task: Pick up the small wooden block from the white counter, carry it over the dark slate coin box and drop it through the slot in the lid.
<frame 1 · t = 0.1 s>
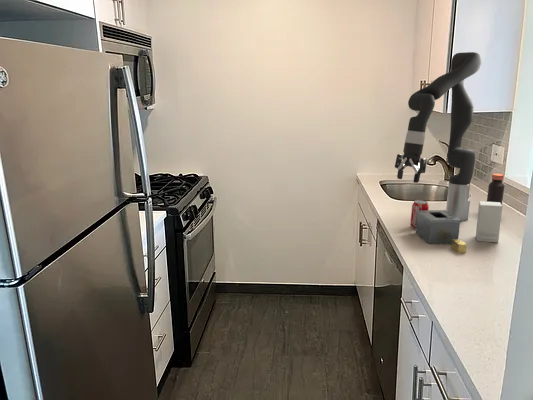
hand: (407, 180, 195), 22 cm above the worktop, tool pointing down, fingers open, 8 cm apart
skincare box: (486, 240, 191), on the worktop
wooden block: (458, 250, 179), on the worktop
bottle: (492, 215, 226), on the worktop
coin box: (435, 238, 192), on the worktop
soda can: (418, 228, 206), on the worktop
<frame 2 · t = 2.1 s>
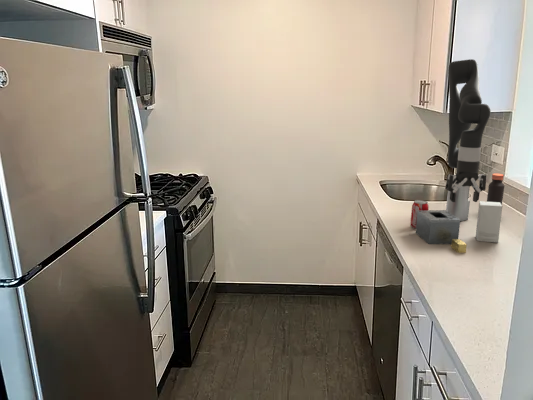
hand: (463, 201, 174), 19 cm above the worktop, tool pointing down, fingers open, 8 cm apart
nothing on the worktop moved.
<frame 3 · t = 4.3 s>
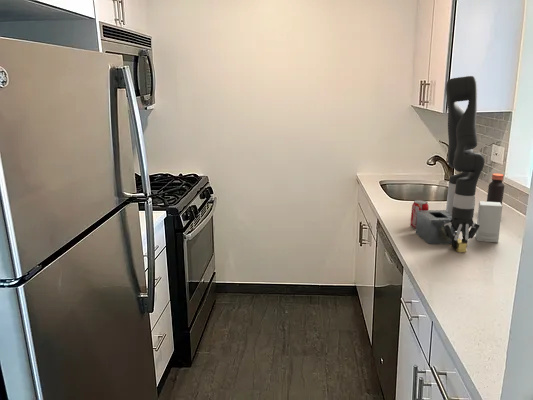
hand: (458, 248, 179), 1 cm above the worktop, tool pointing down, fingers closed on wooden block, 3 cm apart
wooden block: (458, 249, 179), on the worktop, touching gripper
everything else where it was.
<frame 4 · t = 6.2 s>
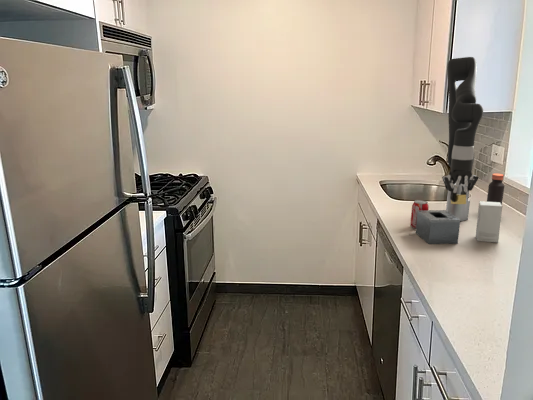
hand: (457, 201, 179), 18 cm above the worktop, tool pointing down, fingers closed on wooden block, 3 cm apart
wooden block: (458, 203, 178), point 17 cm above the worktop, tilted 13°, touching gripper
everything else where it was.
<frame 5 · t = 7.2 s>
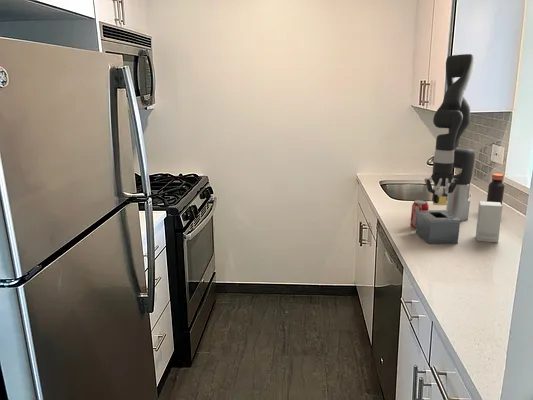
hand: (439, 202, 188), 15 cm above the worktop, tool pointing down, fingers closed on wooden block, 3 cm apart
wooden block: (439, 205, 188), point 14 cm above the worktop, tilted 14°, touching gripper
everything else where it was.
when the fingers open (12 cm above the worktop, at t = 7.8 s): wooden block drops 10 cm, resting on coin box.
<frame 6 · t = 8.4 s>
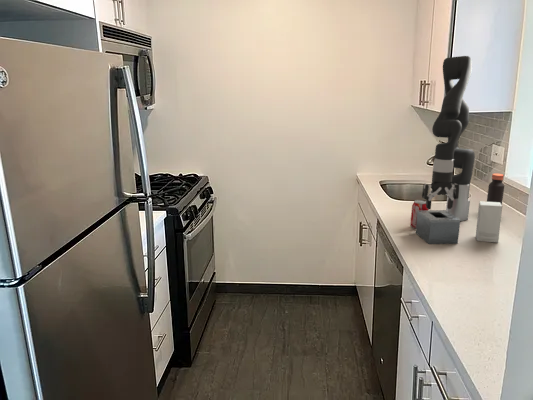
hand: (438, 208, 189), 13 cm above the worktop, tool pointing down, fingers open, 8 cm apart
wooden block: (436, 236, 191), point 1 cm above the worktop, touching coin box
everything else where it was.
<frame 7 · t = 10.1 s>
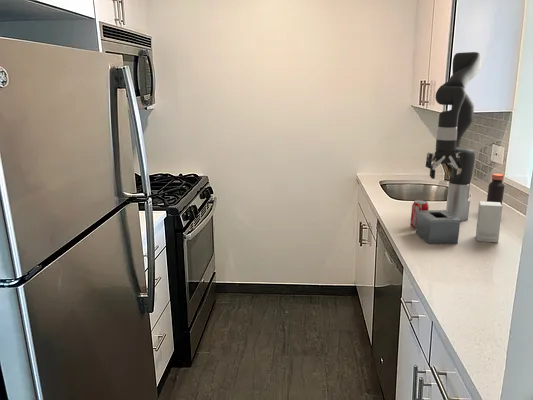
hand: (442, 178, 188), 25 cm above the worktop, tool pointing down, fingers open, 8 cm apart
nothing on the worktop moved.
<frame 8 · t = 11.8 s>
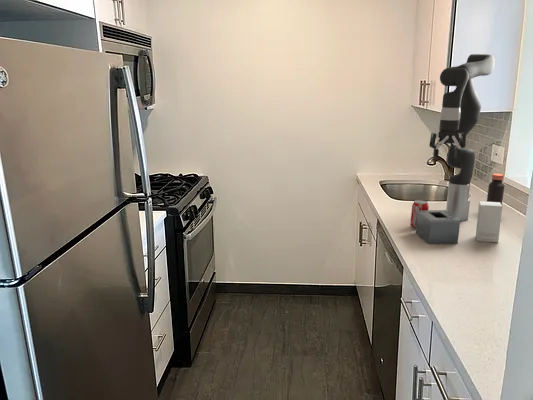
hand: (446, 157, 193), 32 cm above the worktop, tool pointing down, fingers open, 8 cm apart
nothing on the worktop moved.
at the end: wooden block inside the target area on the coin box (1.1 cm from its centre), point 1.0 cm above the coin box's base; the gripper is holding nothing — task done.
